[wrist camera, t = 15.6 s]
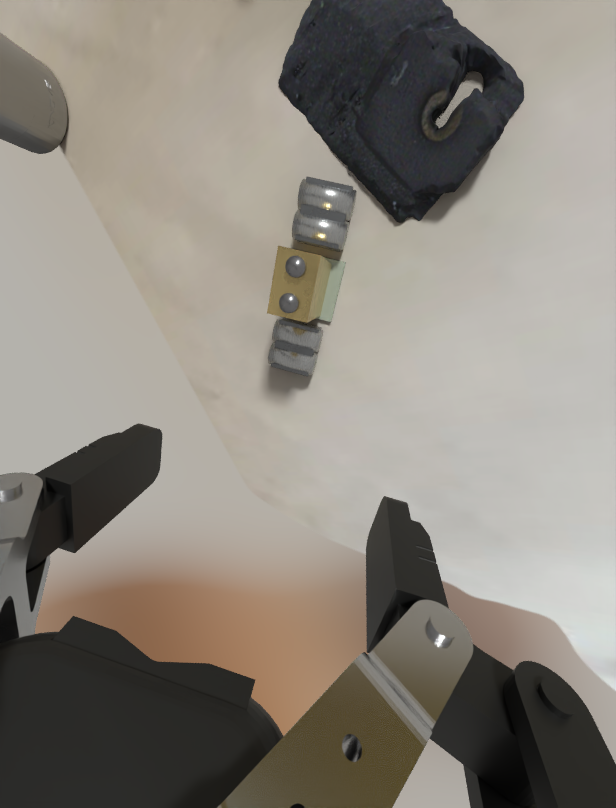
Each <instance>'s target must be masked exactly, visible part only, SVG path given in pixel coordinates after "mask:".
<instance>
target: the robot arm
mask: <svg viewBox="0 0 616 808" xmlns="http://www.w3.org/2000/svg"><path fill="white" fill-rule="evenodd" d="M67 115H68V114H67V106H66V101H65V97H64V94H63V91H62V89H61V86H60V84H59V82H58V81H57V79H56V77H55V76H54V74H53V73H52V72H51V71H50V70H49V68H48V67H47V66H45V65H44V64H43V63H42V62H40V61H39V60H38V59H36V58H35V57H34V56H32V55H31V54H29V53H28V52H27V51H25V50H24V49H22V48H21V47H20V46H18V45H17V44H15V43H14V42H13V41H11V40H10V39H8V38H7V37H6V36H4V35H3V34H2V33H0V139H2V140H5V141H7V142H9V143H12V144H14V145H17V146H19V147H21V148H24V149H26V150H28V151H31V152H34V153H38V154H43V153H48V152H51V151H52V150H54V149H55V148H57V147H58V145H59V144H60V143H61V141H62V140H63V137H64V135H65V132H66V127H67ZM161 447H162V432H161V430H160V429H157V428H153V427H150V426H146V425H143V424H136V425H134V426H132V427H130V428H129V429H127V430H125V431H124V432H122V433H115V434H112V435H108V436H104V437H102V438H100V439H98V440H97V441H94V442H93V443H91V444H89V446H85V447H83V448H82V449H80V450H78V452H77V453H76V452H74V453H73V454H71V455H69V456H67V457H65V458H63V459H62V460H60V461H58V462H56V463H54V464H53V465H51V466H49V467H47V468H45V469H44V470H42V471H40V472H38V473H36V474H29V473H9V474H3V475H0V808H392V807H393V805H394V803H395V801H396V800H397V798H398V796H399V794H400V792H401V790H402V788H403V787H404V785H405V783H406V781H407V779H408V777H409V775H410V774H411V772H412V770H413V768H414V766H415V764H416V763H417V761H418V759H419V757H420V755H421V753H422V751H423V750H424V748H425V746H426V744H427V742H428V740H429V738H430V739H431V740H432V741H434V742H435V743H436V744H438V745H439V746H440V747H442V748H443V749H444V750H445V751H447V752H448V753H449V754H451V755H452V756H453V757H454V758H456V759H457V760H458V761H460V762H461V763H462V764H463V765H464V771H465V777H466V783H467V788H468V795H469V801H470V806H471V808H616V764H615V762H614V760H613V758H612V756H611V754H610V752H609V750H608V748H607V746H606V744H605V742H604V740H603V738H602V736H601V734H600V732H599V730H598V728H597V726H596V724H595V722H594V719H593V718H592V715H591V714H590V712H589V710H588V708H587V707H586V705H585V704H584V703H583V701H582V700H581V698H580V697H579V696H578V694H577V693H576V692H575V691H574V690H573V689H572V688H571V686H570V685H568V683H567V682H565V681H564V680H563V679H562V678H561V677H560V676H558V675H557V674H556V673H555V672H553V671H552V670H550V669H549V668H547V667H545V666H543V665H541V664H539V663H536V662H532V661H523V662H521V663H519V664H518V665H517V666H516V668H515V669H514V670H512V669H510V668H509V667H507V666H506V665H504V664H502V663H501V662H499V661H497V660H496V659H494V658H493V657H491V656H490V655H488V654H487V653H485V652H483V651H482V650H480V649H479V648H478V647H476V646H475V645H474V644H473V643H472V639H471V636H470V634H469V632H468V630H467V628H466V626H465V625H464V624H463V622H462V621H461V620H460V619H459V617H458V616H457V615H455V613H453V612H452V611H451V610H450V609H449V607H448V604H447V600H446V596H445V593H444V589H443V585H442V581H441V577H440V574H439V570H438V566H437V564H436V559H435V555H434V552H433V547H432V544H431V540H430V536H429V535H428V533H427V532H426V531H425V529H424V528H423V526H422V525H421V523H419V522H416V521H412V520H411V518H410V513H409V508H408V504H407V503H406V502H403V501H399V500H396V499H392V498H389V497H386V496H384V497H383V499H382V501H381V503H380V506H379V509H378V511H377V514H376V516H375V519H374V522H373V524H372V527H371V529H370V532H369V536H368V540H367V546H366V586H367V587H366V596H367V597H366V598H367V599H366V600H367V601H366V604H367V653H369V654H368V655H367V654H366V653H365V652H364V653H362V654H361V655H359V656H358V657H357V658H356V659H355V660H354V661H353V662H352V663H351V664H350V665H349V667H348V668H347V669H346V670H345V671H344V672H343V673H342V674H341V675H340V676H339V677H338V679H337V680H336V681H335V682H334V683H333V684H332V685H331V686H330V687H329V688H328V690H326V691H325V692H324V693H323V695H322V696H321V697H320V698H319V699H318V700H317V701H316V702H315V703H314V704H313V705H312V706H311V707H310V709H309V710H308V711H307V712H306V713H305V714H304V715H303V716H302V717H301V718H300V719H299V720H298V722H297V723H296V724H295V725H294V726H293V727H292V728H291V729H290V730H289V731H288V732H287V733H286V735H285V736H283V735H282V733H281V731H280V729H279V727H278V726H277V724H276V723H275V722H274V720H273V719H272V718H271V716H270V715H269V714H268V713H267V712H266V711H265V710H264V709H263V707H262V706H261V705H260V704H258V703H257V702H256V701H254V700H253V699H252V698H251V694H252V690H253V686H254V683H255V680H254V679H251V678H248V677H246V676H243V675H240V674H237V673H234V672H231V671H228V670H226V669H223V668H220V667H217V666H214V665H212V664H206V663H177V662H157V661H154V660H152V659H150V658H149V657H148V656H146V655H145V654H144V653H143V652H141V651H140V650H139V649H138V648H136V647H135V646H134V645H133V644H132V643H130V642H129V641H128V640H127V639H125V638H124V637H123V636H122V635H121V634H119V633H118V632H117V631H115V630H112V629H109V628H106V627H103V626H100V625H97V624H95V623H92V622H89V621H86V620H83V619H81V618H78V617H75V616H73V617H72V618H71V619H70V621H68V622H67V624H66V625H65V626H64V627H63V628H62V629H61V630H60V631H59V632H47V633H39V634H35V626H36V620H37V616H38V612H39V608H40V603H41V599H42V595H43V590H44V586H45V582H46V577H47V573H48V569H49V565H50V554H51V553H52V552H53V551H55V550H56V549H57V548H61V549H63V550H67V551H70V552H73V553H76V552H77V551H78V550H79V549H80V548H81V547H82V546H83V545H84V544H86V542H88V541H89V540H90V539H91V538H92V537H93V536H94V535H96V534H97V533H98V532H99V531H100V530H101V529H102V528H103V527H104V526H106V525H107V524H108V523H109V522H110V521H111V520H112V519H113V518H114V517H115V516H116V515H118V514H119V513H120V512H121V511H122V510H123V509H124V508H126V506H128V505H129V504H130V503H131V502H132V501H133V500H134V499H136V498H137V497H138V496H139V495H140V494H141V493H142V492H143V491H144V490H145V489H147V488H148V487H149V486H150V485H151V484H152V483H153V482H154V481H155V479H156V477H157V475H158V473H159V470H160V461H161Z"/></svg>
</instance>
